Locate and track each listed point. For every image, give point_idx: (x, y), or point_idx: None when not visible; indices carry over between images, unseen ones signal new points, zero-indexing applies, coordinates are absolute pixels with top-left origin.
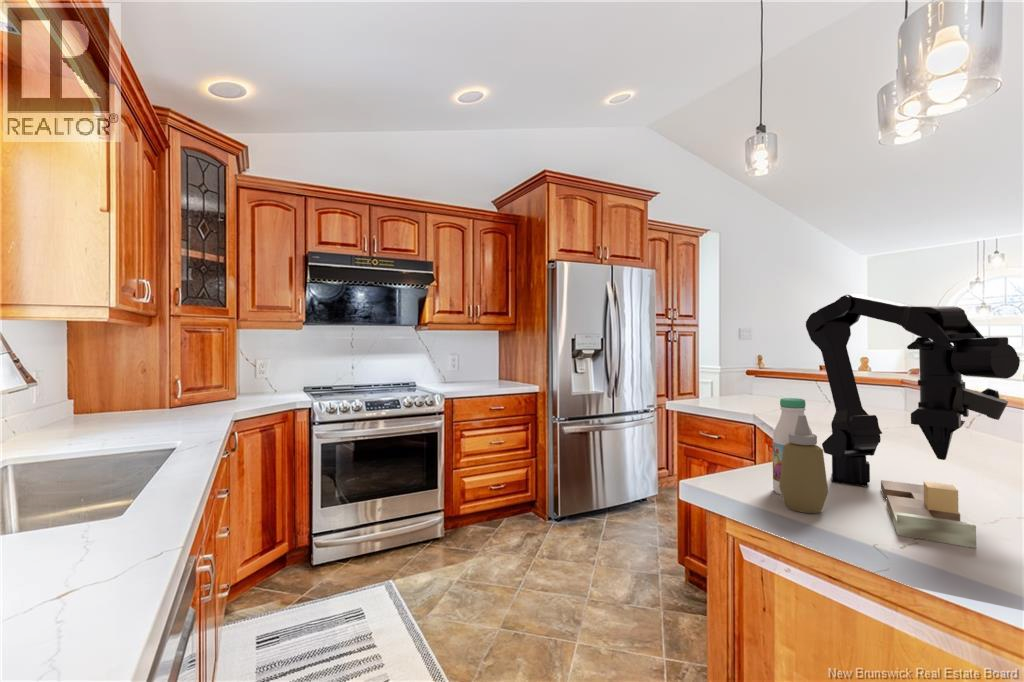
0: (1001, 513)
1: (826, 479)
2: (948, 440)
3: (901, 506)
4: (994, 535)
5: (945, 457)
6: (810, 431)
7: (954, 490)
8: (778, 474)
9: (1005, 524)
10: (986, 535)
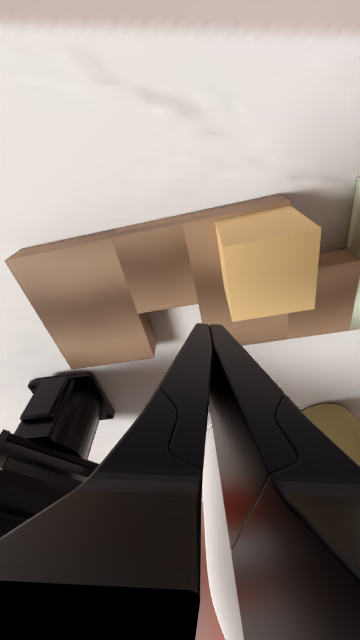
0: (44, 77)
1: (354, 460)
2: (306, 420)
3: (295, 320)
4: (329, 102)
5: (227, 331)
6: None
7: (319, 238)
8: None
9: (179, 65)
10: (340, 125)
